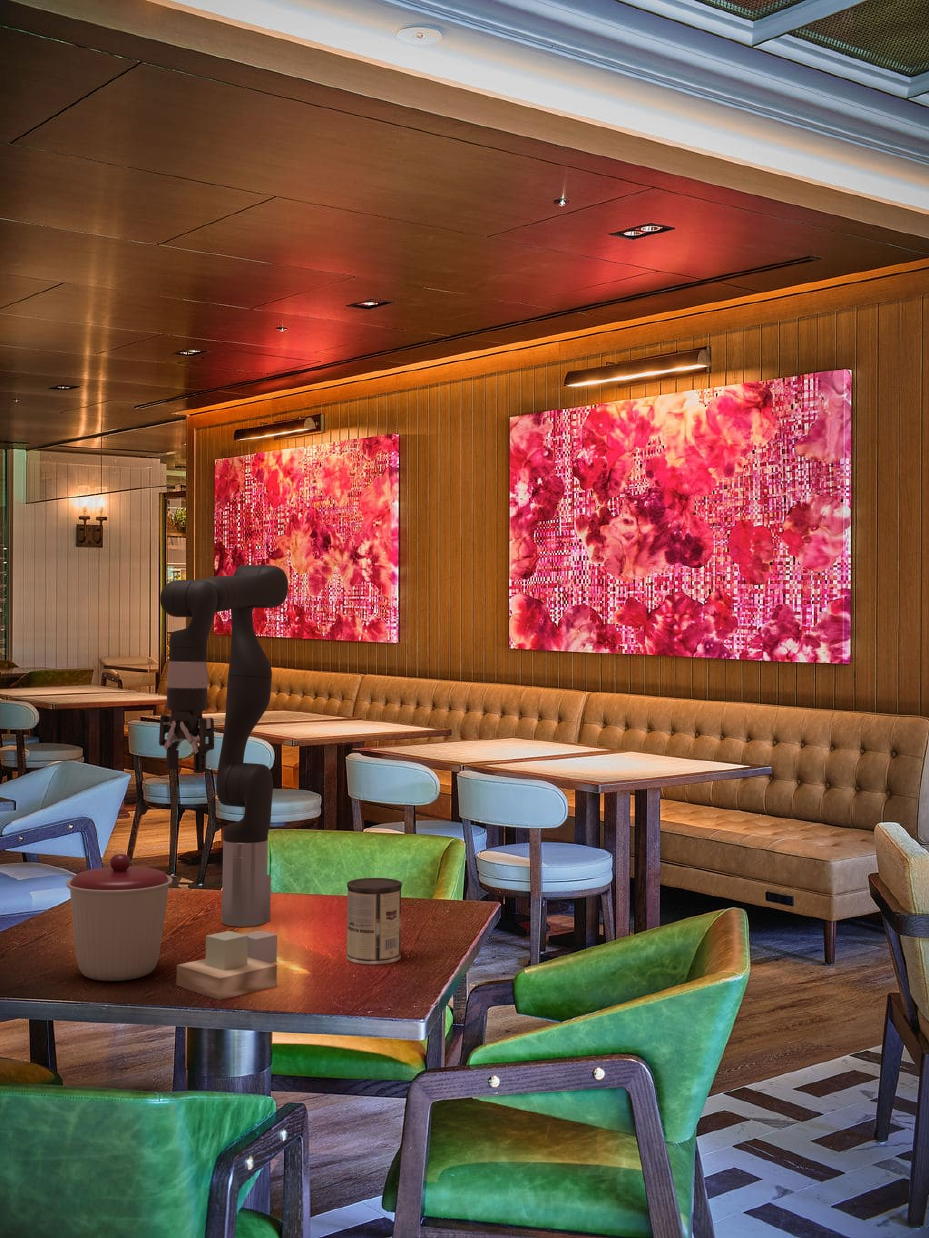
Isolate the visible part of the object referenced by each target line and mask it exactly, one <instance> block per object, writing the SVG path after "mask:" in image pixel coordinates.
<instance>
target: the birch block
mask: <svg viewBox="0 0 929 1238" xmlns="http://www.w3.org/2000/svg"><path fill="white" fill-rule="evenodd" d="M205 962H206V958H203V959H198V960H193V961H189V962H185V963H180V964H176V984H175V985H178V986H181V987H184V988H183V989H185V988H186V989H185V990H188V991H190V992H194V993H197V994H199V995H203V996H205V997H210V998H212V999H215V1000H219V1001H221V1000H225V999H229V998H233V997H237V996H242V995H245V994H249V993H253V992H257V991H261V990H266V989H269V987H270V988H274V987H277V985H278V983H277V981H278V980H277V979H278V976H277V975H278V964H274V963H268V962H264V961H261V960H257V959H254V958H250V957H247V965H244V966H240V967H236V968H232V969H228V970H221V969H218V968H214V967H211V966H207V965H205ZM178 986H177V987H178ZM181 987H180V988H181ZM265 988H266V989H265Z"/></svg>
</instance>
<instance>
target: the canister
mask: <svg viewBox="0 0 929 1238" xmlns="http://www.w3.org/2000/svg"><path fill="white" fill-rule="evenodd" d="M109 865H110V866H107V867H98V868H92V869H89V870H88V869H87V870H84V871H82V872H79V873H76V875H74V876H73V877H71V878H69V879H68V880H67V881H66V883H65V886H66V887H67V889H69V894H70V907H71V917H72V928H73V931H72V932H73V940H74V949H75V957H76V963H77V966H78V969H79V972H81V974H82V975H83V976H85V977H86V978H88V979H91V980H95V981H101V982H102V981H103V982H117V981H118V982H120V981H121V982H122V981H123V982H124V981H129V980H135V979H140V978H142V977H146V976H147V975H149V974H151V973H152V972H153V971H154V970H155V968H156V967H157V965H158V961H159V957H160V952H161V946H162V938H163V933H164V924H165V917H166V909H167V908H166V907H167V901H168V895H169V886H170V885H172V883H173V878H172V877H171V876H170V875H167V874H166V873H165V872H164V871H162V870H159V869H157V868H152V867H146V866H145V867H144V866H131V857H130V856H129V855H127V854H124V853H117V854H116V853H115V854H114V855H113V856H111V858H110V860H109Z"/></svg>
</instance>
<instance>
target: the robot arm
mask: <svg viewBox="0 0 929 1238" xmlns="http://www.w3.org/2000/svg"><path fill="white" fill-rule="evenodd" d="M288 593H289V580H288V577H287V573H286V572H285V571H284V570H283V568H281V567H278V566H276V565H270V564H266V565H265V564H261V565H260V564H244V565H239V566H238V567H237V568H236V569H235V570H234V573H233V575H216V576H209V577H204V578H200V579H176V580H175V579H174V580H172V581H171V580H170V581H169V582H168V583H166V585H164V586H163V588H162V590H161V592H160V596H159V602H160V607H161V608H162V610H163V612H165V613H166V614H167V615H168V616H170V617H173V618H191V620H190V623H189V624H188V626H187V627H185V628H183V629H179V630H178V629H177V630H174V631H173V632H172V633H170V635H169V639H168V640H169V641H168V643H169V644H168V667H167V675H166V710H168V711H170V712H171V714H161V715H160V719H159V721H160V722H159V735H158V736H159V737H158V745H159V746H160V747H164V750H166V756H165V757H166V760H165V762H166V769H167V770H169V771H176V770H178V769H179V760H180V759H179V754H180V750H179V747H180V745H181V743H182V742H183V741H186V740H187V743H188V744H189V745H191V747H192V749H193V752H194V753H193V766H192V768H193V769H192V770H193V771H192V772H193V774H204V773H205V772H206V767H207V753H208V752H209V751H213V750H214V749H215V720H214V718H213V717H203V712H204V711H206V710H207V709H208V682H209V681H208V679H209V678H208V677H209V676H208V663H207V662H208V657H207V655H208V639H209V634H210V632H211V627H212V624H213V620H214V616H215V614H216V613H220V612H225V611H228V610H230V611H231V612H230V613H231V614H230V615H231V617H230V619H231V626H230V627H231V628H230V629H231V633H230V634H231V638H230V650H229V652H230V653H229V663H228V673H227V682H226V683H227V685H226V700H225V715H224V716H225V717H224V725H223V726H224V728H223V736H222V742H221V748H220V754H219V758H218V759H219V760H218V766H217V771H216V779H215V791H216V796H217V799H218V801H219V803H220V804H221V805H223V806H227V807H236V808H237V807H238V808H244V814H243V817H242V818H241V819H240V820H238V821H236V822H234V823H230V824H227V825H226V826H225V827H224V828H223V832H222V833H223V834H222V835H223V837H222V838H223V839H222V841H223V842H222V843H223V847H222V888H221V889H222V891H221V896H222V897H221V923H222V924H223V925H225V926H231V927H241V928H242V927H245V928H246V927H256V926H260V925H261V926H262V925H263V924H266V923H267V922H270V921H271V904H272V903H271V901H272V900H271V899H272V898H271V897H272V896H271V894H272V890H271V889H272V887H271V886H272V876H271V875H269V874H268V857H269V855H268V853H269V852H268V850H269V849H268V847H269V830H270V826H271V822H272V808H273V807H272V805H273V796H274V795H273V793H274V780H273V775H272V771H271V769H270V768H269V767H268V765H266V764H263V763H252V762H244V760H245V759H244V758H245V752H246V746H247V744H248V740H249V738H250V736H251V733H252V732H253V730H254V729H255V727H256V726H257V724H258V723H259V721H260V720H261V718H262V717H263V716H264V714H265V712H266V710H267V709H268V706H269V704H270V701H271V697H272V696H271V693H272V680H273V679H272V678H273V671H272V667H271V666H272V665H271V663H270V662H269V659H268V657H267V655H266V653H265V651H264V649H263V647H262V646H261V644H260V642H259V640H258V637H257V634H256V632H255V628H254V627H255V625H254V619H253V618H254V609H274V608H277V607H278V608H279V607H280V606H282V605H283V604H284V603H285V601H286V599H287V597H288ZM207 739H208V740H207ZM206 740H207V741H206ZM207 742H208V743H207Z"/></svg>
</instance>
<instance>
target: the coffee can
mask: <svg viewBox="0 0 929 1238" xmlns="http://www.w3.org/2000/svg"><path fill="white" fill-rule="evenodd" d="M402 886H403V883H402V881H400V880H399V879H398V880H397V879H394V878H388V877H387V878H385V877H364V878H355V879H351V880H349V881H347V883H346V887H347V892H346V893H347V894H346V895H347V896H346V897H347V900H346V901H347V904H346V905H347V908H346V914H347V915H346V918H347V919H346V921H347V922H346V960H347V961H348V962H351V963H355V964H359V965H360V964H361V965H371V966H372V965H373V966H374V965H387V964H393V963H395V962H398V961H399V960H401V958H402V957H401V936H402V935H401V932H402V931H401V928H402V927H401V923H402V917H401V916H402V888H403V887H402Z"/></svg>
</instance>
